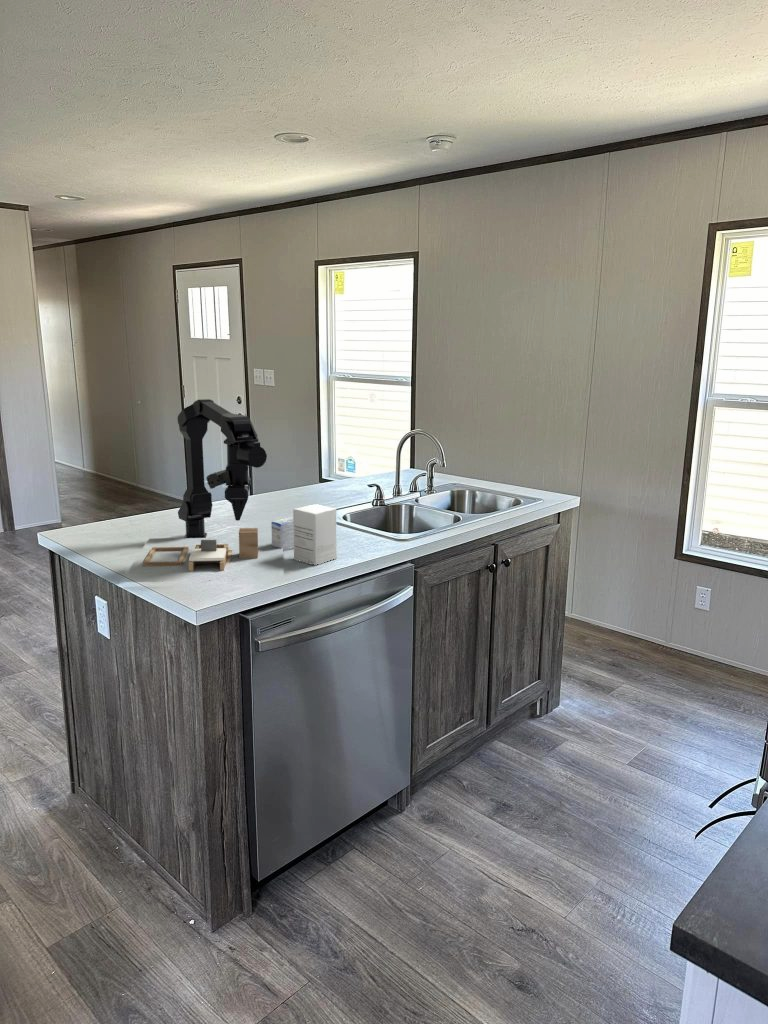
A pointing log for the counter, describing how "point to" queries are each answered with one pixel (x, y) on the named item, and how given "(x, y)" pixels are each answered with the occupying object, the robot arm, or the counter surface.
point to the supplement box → (315, 534)
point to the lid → (208, 552)
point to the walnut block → (248, 543)
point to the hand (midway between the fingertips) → (238, 516)
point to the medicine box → (283, 533)
